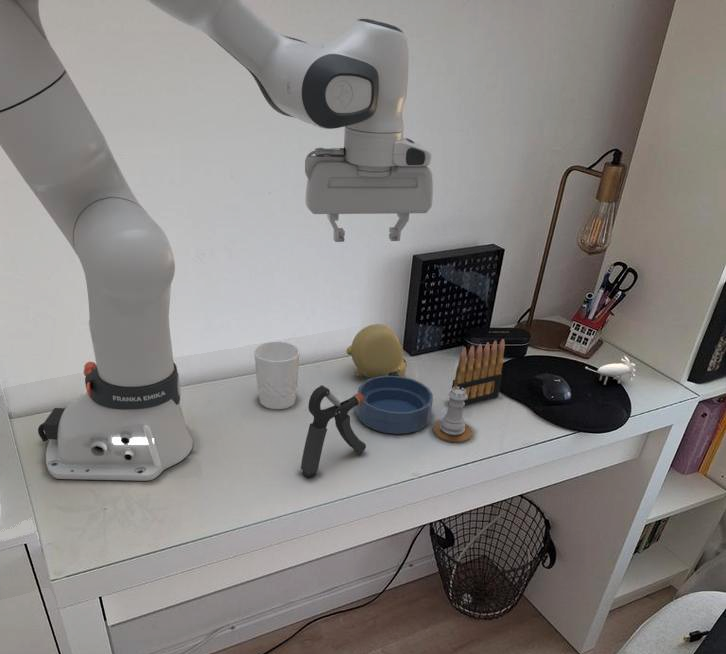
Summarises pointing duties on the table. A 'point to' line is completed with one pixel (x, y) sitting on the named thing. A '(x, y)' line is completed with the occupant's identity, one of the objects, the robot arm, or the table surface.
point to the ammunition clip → (480, 372)
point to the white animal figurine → (616, 370)
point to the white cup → (277, 374)
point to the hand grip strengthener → (320, 423)
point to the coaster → (453, 439)
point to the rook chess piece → (454, 413)
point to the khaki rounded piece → (377, 352)
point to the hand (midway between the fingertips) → (366, 240)
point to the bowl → (394, 404)
